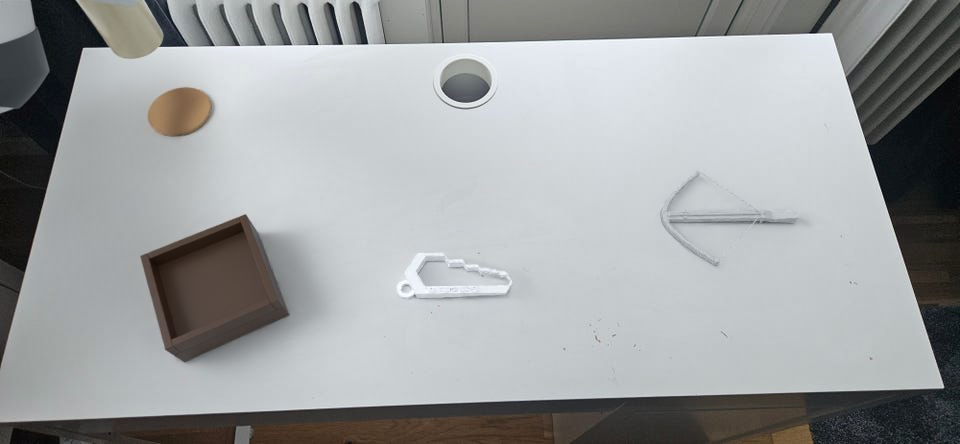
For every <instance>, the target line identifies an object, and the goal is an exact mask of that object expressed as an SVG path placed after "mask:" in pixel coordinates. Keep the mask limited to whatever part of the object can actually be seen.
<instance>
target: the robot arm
mask: <svg viewBox="0 0 960 444" xmlns="http://www.w3.org/2000/svg"><path fill="white" fill-rule="evenodd" d="M90 1H96V2H102V3H108V4H115V5H121V6H134V5H136V4H137V2H138V0H90ZM50 71H51V70H50V67H49V63H48V59H47V55H46V53H45V48H44V45H43V42H42V38H41V35H40V31H39V28H38V26H36V23H35V17H34V13H33V6H32V1H31V0H0V114H2V113H5V112H9V111H11V110H18V109H21V108H22V107H23V106H24V105H25V104H26V103H27V102H28V101H29V100H30V99H31V97H33V95H34V94H35V93H36V92H37V91H38V90H39V88H40V86H41V85H42V84H43V83H44V81H45V79H46V77H47V76H48V74H49V73H50Z"/></svg>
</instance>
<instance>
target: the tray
mask: <svg viewBox="0 0 960 444" xmlns="http://www.w3.org/2000/svg"><path fill="white" fill-rule="evenodd" d="M140 260H141V264H142V268H143V272H144V276H145V279H146V283H147V287H148V291H149V295H150V299H151V302H152V305H153V309H154V313H155V317H156V321H157V325H158V328H159V332H160V336H161V339H162V343H163V347H164V350H165V351H166V352H168V353H169V354H171V355H172V356H173V357H175V358H177V359H179V360H180V361H181V362H183V363H185V362H188V361H190V360H193V359H195V358H196V357H200V356H201V355H204V354H206V353H208V352H210V351H212V350H215V349H217V348H220V347H221V346H224V345H226V344H229V343H230V342H232V341H236V340H237V339H239V338H241V337H244V336H246V335H248V334H251V333H253V332H255V331H257V330H260V329H262V328H265V327H266V326H269V325H271V324H273V323H275V322H278V321H280V320H282V319H284V318H286V317H289V316H290V312H289V310H288V307H287V305H286V302H285V300H284V297H283V294H282V291H281V289H280V286H279V284H278V281H277V278H276V276H275V273H274V270H273V267H272V265H271V262H270V260H269V256H268V254H267V252H266V249H265V247H264V243H263V241H262V239H261V236H260V234H259V231H258V230H257V229H256V227H255V226H254V224H253V223H252V221H251V219H250V218H249V216H248V215H247V214H246V213H244V214H242V215H239V216H237V217H235V218H232V219H230V220H227V221H224V222H221V223H219V224H216V225H214V226H212V227H209V228H206V229H203V230H201V231H199V232H196V233H194V234H191V235H189V236H186V237H184V238H182V239H179V240H176V241H174V242H170V243H169V244H167V245H164V246H161V247H159V248H156V249H154V250H152V251H148V252H147V253H144V254H141V255H140Z"/></svg>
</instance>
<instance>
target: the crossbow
mask: <svg viewBox="0 0 960 444" xmlns="http://www.w3.org/2000/svg"><path fill="white" fill-rule="evenodd" d="M700 174H702V176H704V177H706V178H707V179H708V180H710V181H712V182H713V183H715V184H716V185H718V186H719V187H721V188H722V189H724V191H727V192H728V193H730V194H731V195H732V196H734V197H736V198H737V199H739V200H740V201H742V202H743V203H745V204H746V205H748V206H749V207H750V208H752V209H734V210H733V209H732V210H731V209H730V210H729V209H728V210H727V209H726V210H687V209H681V210H680V211H679V210H676V211H675V210H673V211H672V210H671V211H669V210H668V207H669V204H670V203H671V202H672V201H673V199H675V197H676V196H677V195H678V194H679V193H680V192H681V191H682V190H683V189H684V188H685V187H686V186H687V185H689V184H690V183H691V182H692V181H694V180H695V179H696V178H698V177H699V175H700ZM667 210H668V211H667ZM660 219H661V225H663V227H664V228H665V229H666V230H667V232H668V233H669V234H670V235H671V236H672V237H674V239H676V240H677V241H678V242H679V243H681V244H682V245H683V246H684V247H686V248H688V249H689V250H690V251H691V252H693V253H695V254H696V255H698V256H699V257H701V258H703V259H704V260H706V261H708V262H710V263H711V264H712V265H713V266H718V265H720V262H721V260H722V259H723V258H724V257H725V255H726V254H727V253H728V252H729V251H730V250H731V249H732V248H733V247H734V246H735V244H736V243H737V242H738V241H739V240H740V239H741V238H742V237H743V236H744V235H745V234H746V232H748V230H749V229H751V227H752V226H753V225H754V224H755V223H756V222H758V224H759V225H762V223H763V222H769V223H789V224H795V222H796V221H797V220H798V219H799V214H798V211H797V209H785V210H768V209H757V208H755V207H754V206H752V205H751V204H749V203H748V202H746V201H745V200H743V199H742V198H740V197H739V196H737V195H736V194H735V193H733V192H731V191H730V190H728V188H726V187H724V186H723V185H721V184H720V183H718V182H716V181H715V180H713V179H712V178H711V177H709V176H708V175H706V174H705V173H703V172H702V171H701V170H697V171H695V173H693V174H692V175H691V176H689V177H688V178H687V179H686V180H684V181H683V182H682V183H681V184H680V185H679V186H678V187H677V188H676V189H675V190H674V191H673V192H672V193H671V194H670V195H669V197H668V198H667V200H665V202H664V205H663V207H662V209H661V211H660ZM704 222H707V223H708V222H709V223H710V222H713V223H715V222H752V223H751V225H749V227H748V228H746V230H745V231H744V232H743V233H742V234H741V235H740V236H739V237H738V239H737V240H735V242H734V243H733V244H732V245H731V246H730V247H729V248H728V249H727V251H726V252H725V253H724V254H722V256H721V257H720V258H719V259H717V258H715V257H714V256H712V255H710V254H708V253H706V252H705V251H703V250H702V249H700V248H699V247H697V246H696V245H694V244H693V243H692V242H690V241H689V240H687V238H685V237H684V236H683V235H682V234H681V233H679V232H678V231H677V230H676V229H675V228H674V227H673V225H672V224H671V223H704Z"/></svg>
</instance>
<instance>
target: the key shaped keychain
mask: <svg viewBox="0 0 960 444" xmlns="http://www.w3.org/2000/svg"><path fill="white" fill-rule="evenodd" d="M428 261H429V262H432V261H433V262H437V261H438V262H439V261H440V262H443V261H444V262H445V263H446V264H447V266H448V267H449V268H451V267H452V268H454V267H455V268H456V267H458V268H459V267H463V268H464V269H465V271H466V272H471V271H472V272H473V271H474V272H479V274H480V275H482V274H489V275H491V276H499V277H500V278H507V280H508V281H509V282H508V284H505V285H503V284H501V285H499V284H498V285H431V286H430V285H428V286H427V285H426V286H425V284H424V282H423V281H422V279H421V277H420V276H419V273H420V271H421V270H422V269H423V267H424V265H425V264H426V262H428ZM403 274H404V279H402V280H400V281H399V282H398V284H396V292H397V296H399V298H401V299H403V300H410V299H412V298H413V297H414V296H415V297H416V298H417V299H444V298H463V297H478V296H506V295H507V293H508V292H509V290H510V289H511V287H512V286H513V280H512V279H511V277H510V276H509V274H508V272H506V271H505V270H498V269H495V268H494V269H491V268H490V267H480V266H479V264H477V263H476V264H467V263H466V261H465V260H464V259H462V258H461V259H448V257H447V256H446V255H445V253H444V252H418V253H416V255H415V256H414V258H413V260H412V261H411V262H410V263H409V265H408V267H407V268H406V269H405V271H404V272H403ZM405 286H409V287H410V288H411V289H410V291H409V292H404V291H402V289H403V287H405Z"/></svg>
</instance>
